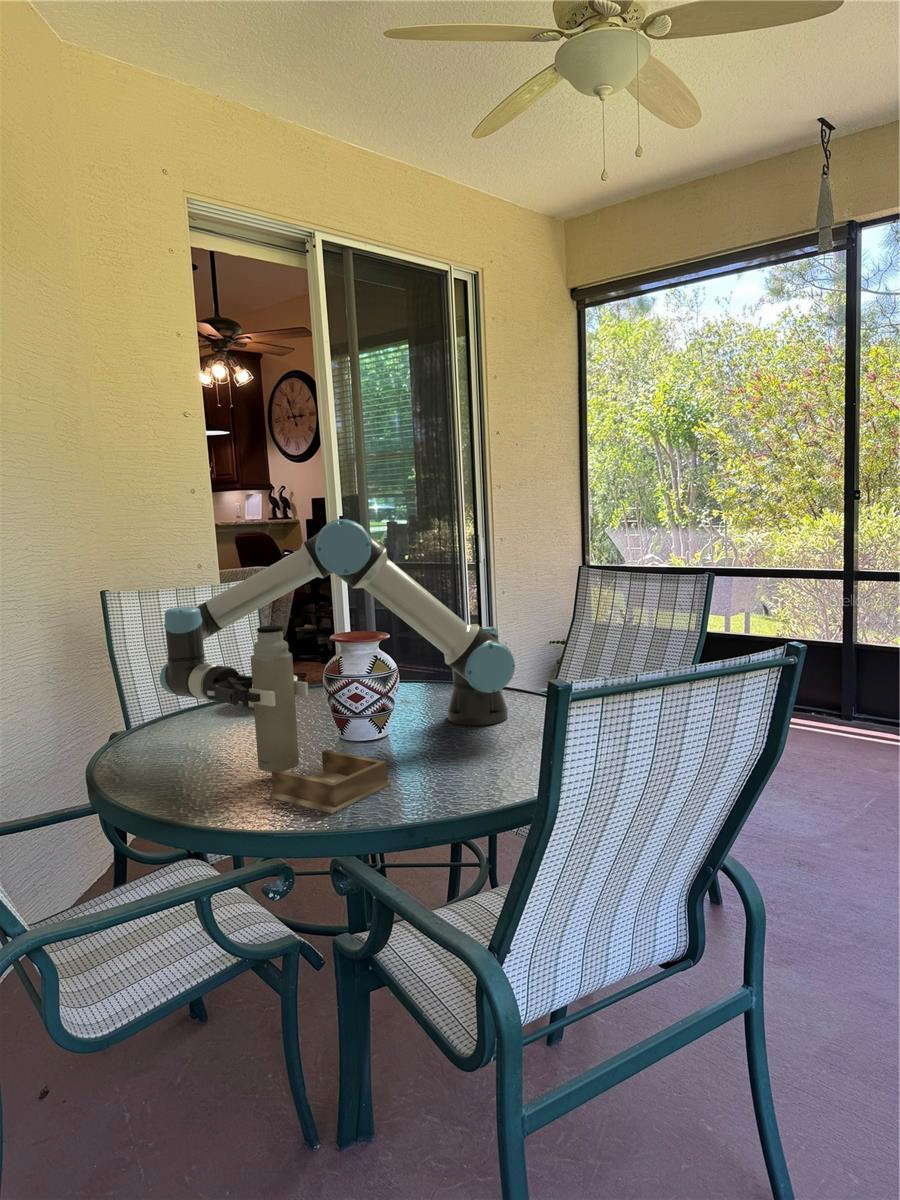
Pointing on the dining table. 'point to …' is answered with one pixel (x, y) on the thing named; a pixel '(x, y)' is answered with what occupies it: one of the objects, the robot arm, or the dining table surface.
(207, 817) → the dining table surface
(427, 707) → the dining table surface
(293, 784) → the walnut cradle
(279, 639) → the thermos bottle
